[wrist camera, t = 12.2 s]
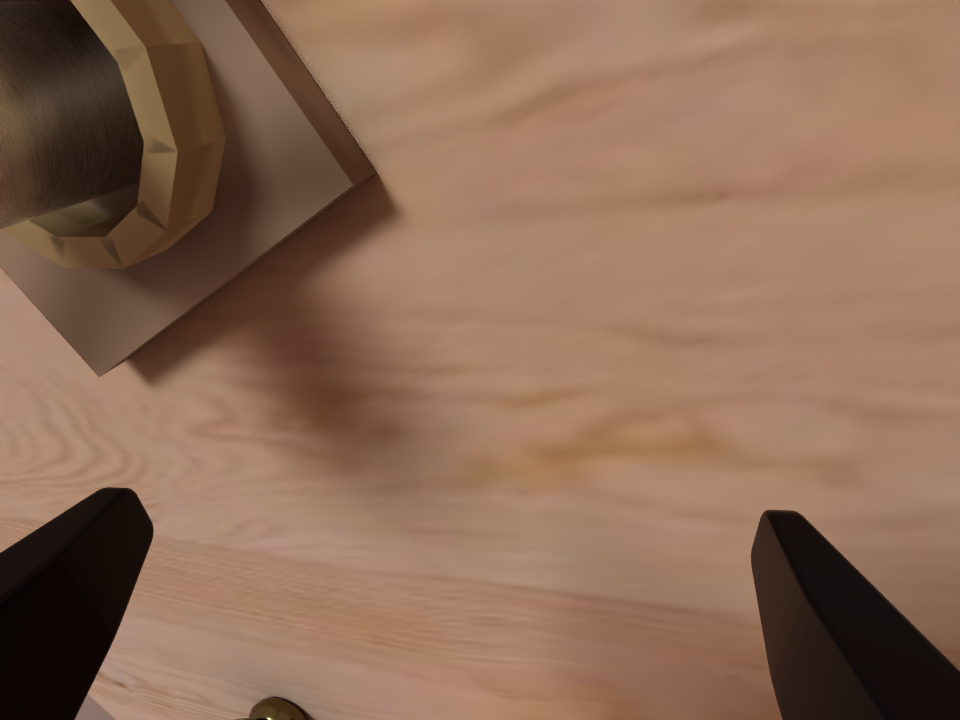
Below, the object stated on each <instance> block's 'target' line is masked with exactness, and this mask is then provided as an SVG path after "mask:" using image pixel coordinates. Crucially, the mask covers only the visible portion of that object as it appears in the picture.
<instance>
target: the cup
mask: <svg viewBox="0 0 960 720" xmlns="http://www.w3.org/2000/svg"><path fill="white" fill-rule="evenodd" d="M236 720H307V719H306V718H305V716H304V715H303V713H302V712H301V711H300V710H299V709H298V708H297V707H295V706H294V705H292V704H291V703H289V702H287V701H285V700H282V699H279V698H265V699H263V700H261V701H260V702H258V703H257V704H256V705H255V706H253V708H252V709H251V712H250V715H249V719H248V718H243V719H236Z"/></svg>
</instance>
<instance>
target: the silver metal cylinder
mask: <svg viewBox="0 0 960 720" xmlns="http://www.w3.org/2000/svg"><path fill="white" fill-rule="evenodd" d="M143 149H144V141H143V138H142V135H141V132H140V129H139V125H138V122H137V119H136V116H135V113H134V110H133V107H132V104H131V101H130V98H129V95H128V92H127V89H126V86H125V83H124V80H123V77H122V74H121V71H120V68H119V65H118V62H117V61H116V59H115V58H114V57H113V55H112V54H111V53H110V52H109V50H108V49H107V48H106V46H105V45H104V44H103V42H102V41H101V40H100V38H99V37H98V36H97V34H96V33H95V32H94V31H93V29H92V28H91V27H90V25H89V24H88V23H87V21H86V20H85V19H84V17H83V16H82V15H81V14H80V12H79V11H78V10H77V8H76V7H75V6H74V4H73V3H72V2H67V1H3V2H0V229H3V228H7V227H10V226H13V225H16V224H19V223H22V222H25V221H28V220H31V219H34V218H37V217H40V216H43V215H46V214H49V213H52V212H55V211H58V210H61V209H64V208H67V207H70V206H73V205H76V204H79V203H82V202H85V201H88V200H91V199H94V198H97V197H100V196H103V195H106V194H109V193H112V192H115V191H118V190H121V189H124V188H127V187H130V186H133V185H136V184H138V183H140V177H141V167H142V158H143Z"/></svg>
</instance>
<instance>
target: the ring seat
mask: <svg viewBox="0 0 960 720" xmlns="http://www.w3.org/2000/svg"><path fill="white" fill-rule="evenodd" d="M3 1H67V2H72V3H73V4H74V6H75V7H76V8H77V10H78V11H79V12H80V14H81V15H82V16H83V17H84V19H85V20H86V21H87V23H88V24H89V25H90V27H91V28H92V29H93V31H94V32H95V33H96V34H97V36H98V37H99V38H100V40H101V41H102V42H103V44H104V45H105V46H106V48H107V49H108V50H109V52H110V53H111V54H112V55H113V57H114V58H115V59H116V61H117V62H118V65H119V68H120V71H121V74H122V77H123V80H124V83H125V86H126V89H127V92H128V95H129V98H130V101H131V104H132V107H133V110H134V113H135V116H136V119H137V122H138V125H139V129H140V132H141V135H142V138H143V141H144V149H143V158H142V167H141V177H140V183H138V184H136V185H133V186H130V187H127V188H124V189H121V190H118V191H115V192H112V193H109V194H106V195H103V196H100V197H97V198H94V199H91V200H88V201H85V202H82V203H79V204H76V205H73V206H70V207H67V208H64V209H61V210H58V211H55V212H52V213H49V214H46V215H43V216H40V217H37V218H34V219H31V220H28V221H25V222H22V223H19V224H16V225H13V226H10V227H7V228H3V229H0V268H1V269H2V270H3V271H4V272H5V273H6V274H7V275H8V276H9V278H10V279H11V280H12V281H13V282H14V283H15V284H16V285H17V286H18V288H19V289H20V290H21V291H22V292H23V293H24V294H25V295H26V296H27V298H28V299H29V300H30V301H31V302H32V303H33V304H34V305H35V306H36V308H37V309H38V310H39V311H40V312H41V313H42V314H43V315H44V316H45V318H46V319H47V320H48V321H49V322H50V323H51V324H52V325H53V326H54V328H55V329H56V330H57V331H58V332H59V333H60V334H61V335H62V336H63V337H64V339H65V340H66V341H67V342H68V343H69V344H70V345H71V346H72V347H73V349H74V350H75V351H76V352H77V353H78V354H79V355H80V356H81V357H82V359H83V360H84V361H85V362H86V363H87V364H88V365H89V366H90V367H91V369H92V370H93V371H94V372H95V373H96V374H97V375H98V376H99V377H100V376H102V375H104V374H105V373H107V372H108V371H110V370H111V369H113V368H115V367H116V366H118V365H119V364H121V363H123V362H124V361H126V360H127V359H129V358H130V357H131V356H133V355H134V354H135V353H137V352H138V351H139V350H141V349H142V348H143V347H145V346H146V345H147V344H149V343H150V342H152V341H153V340H154V339H156V338H157V337H158V336H160V335H161V334H162V333H164V332H165V331H166V330H168V329H169V328H170V327H172V326H173V325H174V324H176V323H177V322H178V321H180V320H181V319H182V318H184V317H185V316H186V315H188V314H189V313H190V312H192V311H193V310H194V309H196V308H197V307H198V306H200V305H201V304H202V303H204V302H205V301H206V300H208V299H209V298H210V297H212V296H213V295H214V294H216V293H217V292H218V291H220V290H221V289H222V288H224V287H225V286H226V285H228V284H229V283H230V282H232V281H233V280H234V279H236V278H237V277H238V276H240V275H241V274H242V273H244V272H245V271H246V270H248V269H249V268H250V267H252V266H253V265H254V264H256V263H257V262H258V261H260V260H261V259H262V258H264V257H265V256H266V255H268V254H269V253H270V252H272V251H273V250H274V249H276V248H277V247H278V246H280V245H281V244H282V243H284V242H285V241H286V240H288V239H289V238H290V237H292V236H293V235H294V234H296V233H297V232H298V231H300V230H301V229H302V228H304V227H305V226H306V225H308V224H309V223H310V222H312V221H313V220H314V219H316V218H317V217H318V216H320V215H321V214H322V213H324V212H325V211H326V210H328V209H329V208H330V207H332V206H333V205H334V204H336V203H337V202H338V201H340V200H341V199H342V198H344V197H345V196H346V195H348V194H349V193H350V192H352V191H353V190H354V189H356V188H357V187H358V186H360V185H361V184H362V183H364V182H365V181H366V180H368V179H369V178H370V177H372V176H373V175H374V174H376V173H377V172H376V171H375V170H374V168H373V167H372V165H371V164H370V162H369V161H368V159H367V158H366V156H365V155H364V153H363V152H362V150H361V149H360V147H359V146H358V144H357V143H356V142H355V140H354V139H353V137H352V136H351V134H350V133H349V131H348V130H347V128H346V127H345V125H344V124H343V122H342V121H341V119H340V118H339V116H338V115H337V113H336V112H335V111H334V109H333V108H332V106H331V105H330V103H329V102H328V100H327V99H326V97H325V96H324V94H323V93H322V91H321V90H320V88H319V87H318V85H317V84H316V83H315V81H314V80H313V78H312V77H311V75H310V74H309V72H308V71H307V69H306V68H305V66H304V65H303V63H302V62H301V60H300V59H299V57H298V56H297V54H296V53H295V52H294V50H293V49H292V47H291V46H290V44H289V43H288V41H287V40H286V38H285V37H284V35H283V34H282V32H281V31H280V29H279V28H278V26H277V25H276V24H275V22H274V21H273V19H272V18H271V16H270V15H269V13H268V12H267V10H266V9H265V7H264V6H263V4H262V3H261V1H260V0H0V2H3Z"/></svg>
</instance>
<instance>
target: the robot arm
mask: <svg viewBox="0 0 960 720" xmlns="http://www.w3.org/2000/svg"><path fill="white" fill-rule="evenodd" d="M152 539H153V524H152V521H151V520H150V518H149V516H148V514H147V512H146V510H145V509H144V507H143V505H142V503H141V501H140V499H139V498H138V496H137V494H136V493H135V492H134V491H133V490H131V489H129V488H112V487H108V488H103V489H100V490H98V491H96V492H95V493H93V494H92V495H90V496H89V497H87V498H85V499H84V500H82V501H81V502H79V503H78V504H76V505H75V506H73V507H71V508H70V509H68V510H67V511H65V512H64V513H62V514H60V515H59V516H57V517H56V518H54V519H53V520H51V521H50V522H48V523H46V524H45V525H43V526H42V527H40V528H39V529H37V530H35V531H34V532H32V533H31V534H29V535H28V536H26V537H24V538H23V539H21V540H20V541H18V542H17V543H15V544H13V545H12V546H10V547H9V548H7V549H6V550H4V551H3V552H1V553H0V720H75V718H76V716H77V714H78V712H79V710H80V707H81V706H82V704H83V701H84V700H85V697H86V695H87V693H88V691H89V689H90V687H91V685H92V683H93V681H94V679H95V677H96V675H97V673H98V671H99V669H100V667H101V665H102V663H103V661H104V659H105V657H106V655H107V653H108V651H109V649H110V646H111V644H112V642H113V640H114V638H115V636H116V633H117V631H118V628H119V626H120V623H121V621H122V618H123V616H124V613H125V611H126V608H127V605H128V603H129V600H130V597H131V595H132V592H133V590H134V587H135V584H136V582H137V579H138V576H139V574H140V571H141V568H142V566H143V563H144V561H145V558H146V555H147V553H148V550H149V547H150V545H151V542H152ZM751 565H752V572H753V578H754V583H755V589H756V595H757V601H758V606H759V612H760V618H761V624H762V630H763V635H764V641H765V647H766V653H767V659H768V664H769V669H770V674H771V679H772V683H773V687H774V691H775V695H776V699H777V702H778V706H779V709H780V712H781V716H782V719H783V720H960V671H959V670H958V669H957V668H956V667H955V666H954V665H953V664H952V663H951V662H950V661H949V660H948V659H947V658H946V657H945V656H944V655H943V654H942V653H941V652H940V651H939V650H938V649H937V648H936V647H935V646H934V645H933V644H932V643H931V642H930V641H929V640H928V639H927V638H926V637H925V636H924V635H923V634H922V633H921V632H920V631H919V630H918V629H917V628H916V627H915V626H914V625H913V624H912V623H911V622H910V621H909V620H908V619H907V618H906V617H905V616H904V615H903V614H901V613H900V612H899V611H898V610H897V609H896V608H895V607H894V606H893V605H892V604H891V603H890V602H889V601H888V600H887V599H886V598H885V597H884V596H883V595H882V594H881V593H880V592H879V591H878V590H877V589H876V588H875V587H874V586H873V585H872V584H871V583H870V582H869V581H868V580H867V579H866V578H865V577H864V576H863V575H862V574H861V573H860V572H859V571H858V570H857V569H856V568H855V567H854V566H853V565H852V564H851V563H850V562H849V561H848V560H847V559H846V558H845V557H844V556H843V555H842V554H841V553H840V552H839V551H838V550H837V549H836V548H835V547H834V546H833V545H832V544H831V543H830V542H829V541H828V540H827V539H826V538H825V537H824V536H823V535H822V534H821V533H820V532H819V531H818V530H817V529H816V528H814V527H813V526H812V525H811V524H810V523H809V522H808V521H807V520H806V519H805V518H804V517H803V516H802V515H801V514H799V513H798V512H796V511H789V510H766V511H765V512H764V513H763V514H762V516H761V518H760V522H759V525H758V529H757V532H756V536H755V539H754V543H753V546H752V551H751Z"/></svg>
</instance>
